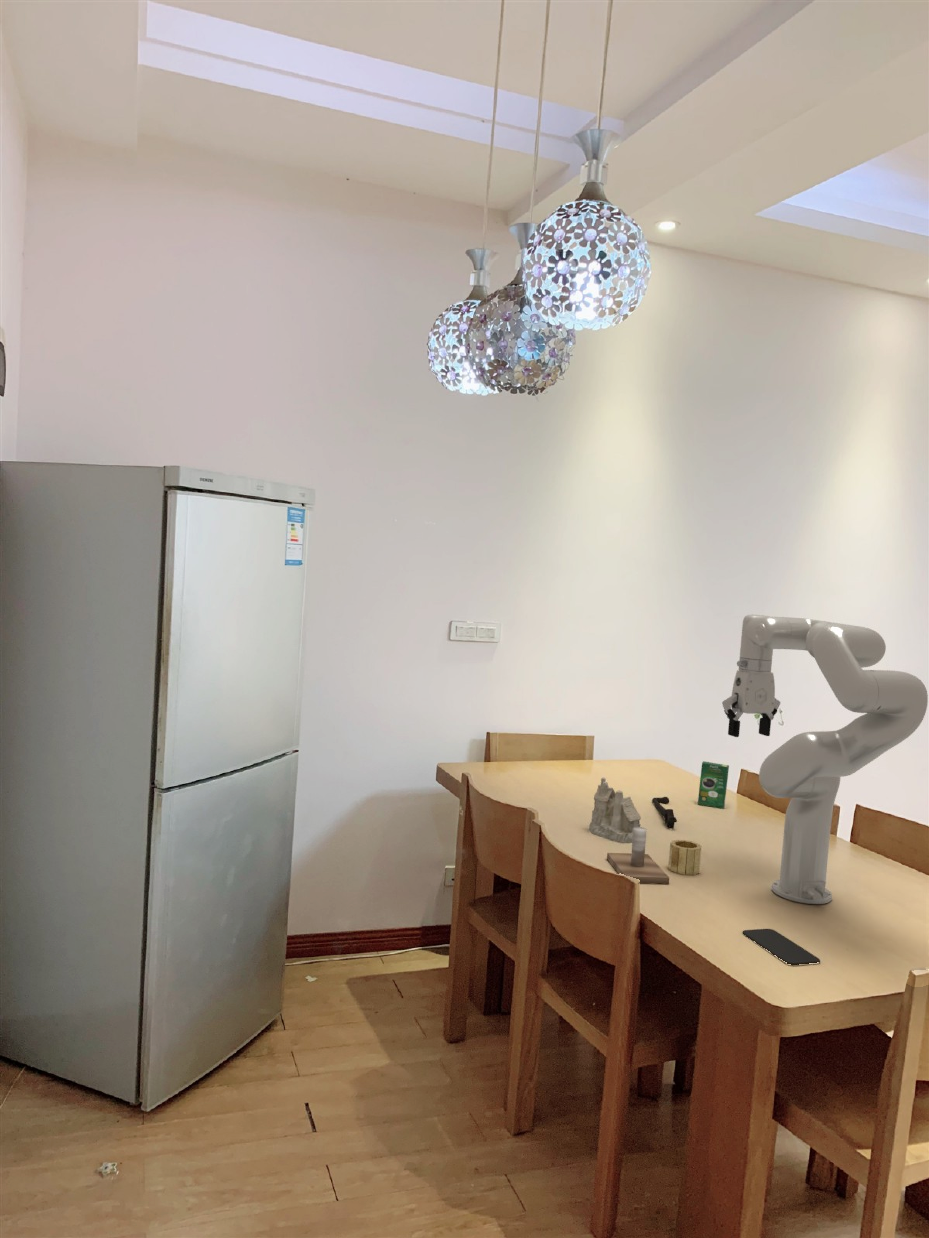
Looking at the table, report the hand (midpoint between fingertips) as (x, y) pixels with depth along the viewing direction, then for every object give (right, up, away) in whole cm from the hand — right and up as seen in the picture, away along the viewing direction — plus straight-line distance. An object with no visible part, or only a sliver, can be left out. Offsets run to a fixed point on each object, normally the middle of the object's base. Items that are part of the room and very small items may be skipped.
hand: (748, 735), depth 219 cm
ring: (-18, -31, -8) cm, 36 cm away
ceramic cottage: (-28, -29, +19) cm, 45 cm away
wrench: (-11, -29, +39) cm, 50 cm away
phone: (-10, -34, -49) cm, 60 cm away
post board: (-29, -30, -11) cm, 43 cm away
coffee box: (+6, -28, +53) cm, 60 cm away
